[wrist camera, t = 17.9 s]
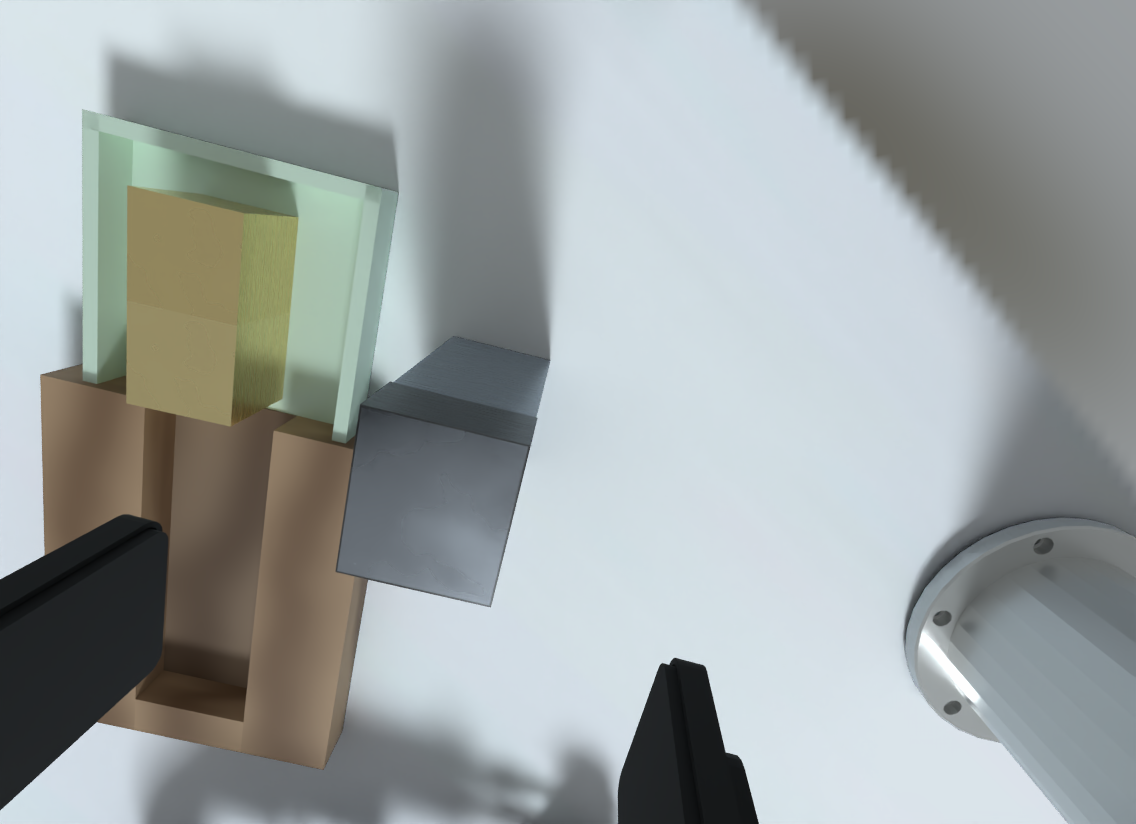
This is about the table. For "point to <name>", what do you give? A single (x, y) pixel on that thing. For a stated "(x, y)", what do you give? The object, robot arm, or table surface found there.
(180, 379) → the olive yellow cube
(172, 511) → the slot board
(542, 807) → the table surface
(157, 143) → the tray
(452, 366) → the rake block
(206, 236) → the tan wooden cube
